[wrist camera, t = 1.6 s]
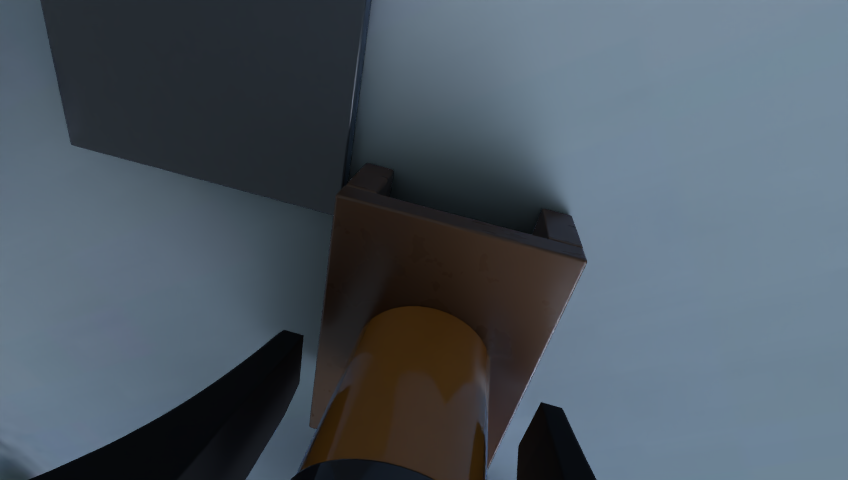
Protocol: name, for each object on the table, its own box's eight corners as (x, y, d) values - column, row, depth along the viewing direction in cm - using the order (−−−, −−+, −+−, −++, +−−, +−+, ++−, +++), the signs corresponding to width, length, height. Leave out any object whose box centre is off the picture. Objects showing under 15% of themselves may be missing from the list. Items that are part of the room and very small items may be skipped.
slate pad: (345, 210, 15) (339, 217, 14) (84, 141, 15) (69, 145, 15) (392, -156, 10) (386, -166, 10) (10, -243, 11) (-16, -257, 10)
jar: (472, 424, 15) (455, 652, 9) (346, 388, 15) (260, 591, 10) (512, 326, 12) (520, 551, 7) (363, 285, 13) (264, 474, 7)
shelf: (486, 414, 18) (483, 479, 16) (335, 371, 19) (308, 427, 16) (572, 215, 14) (588, 261, 11) (366, 161, 14) (334, 194, 11)
